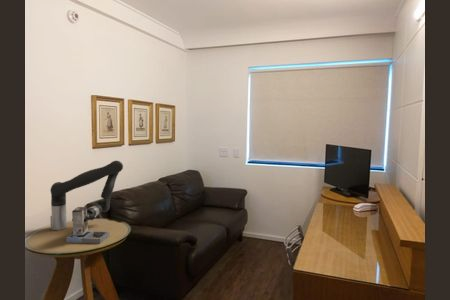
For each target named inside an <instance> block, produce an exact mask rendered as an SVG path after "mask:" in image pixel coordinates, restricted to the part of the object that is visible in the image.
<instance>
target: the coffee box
mask: <svg viewBox="0 0 450 300" xmlns="http://www.w3.org/2000/svg"><path fill="white" fill-rule="evenodd" d="M87 209H88V207H87V206H77V207H75V208H74V209H73V210H72V211H71V214H72V219H73V222H72V232H73V233H72V234H73V235H84V234H85V233H86V232H87V231H89V222H88V221H86V222H84V218H86V217H87Z"/></svg>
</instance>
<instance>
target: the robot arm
mask: <svg viewBox="0 0 450 300" xmlns="http://www.w3.org/2000/svg"><path fill="white" fill-rule="evenodd" d="M123 169H124V165H123V163H122V161H119V160H113V161H111V162H110V163H108V164H106V165H104V166H102V167H98V168H97V167H96V168H94V169H90V170H87V171H84V172H82V173H80V174H78V175H76V176H75V177H73V178H71V179H69V180H67V181H62V182H61V181H56V182H54V183H53V184H52V185H51V186H50V194H51V195H50V197H51V200H50V201H51V202H50V203H51V215H50V217H49V218H50V230H53V231H60V230H65V229H66V228H67V227H68V226H67V225H68V223H67V193H69V192H71V191H73V190H76V189H79V188H82V187H84V186H87V185H90V184H93V183H95V182H96V181H99V180H102V179H103V178H106V177H107V179H106V181H105V183H104V186H103V189H102V192H101V195H100V197H101V199H104V201H102V200H97V201H96V202H95V203H94V205H93V206H90V207H87V217H86V218H84V222H86V221H93V220H95V219H97V216H98V215H100V214H102V212H103V213H107V212H108V211H109V210H110V208H111V197H112V195H113V191H114V188H115V185H116V180H117V177H118V175H119V173H120V172H121V171H122V170H123ZM71 222H72V223H73V218H72V219H71Z"/></svg>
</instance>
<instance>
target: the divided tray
mask: <svg viewBox="0 0 450 300" xmlns="http://www.w3.org/2000/svg"><path fill="white" fill-rule="evenodd" d="M81 236H82V237H81ZM98 237H99V238H98ZM109 237H110V231H101V230H99V231H94V230H88V231H87V232H86V233H85V234H84V235H73V233H72V234H70V235H68V236H67V237H66V243H76V244H102V243H103V242H104V241H105V240H107V239H108V238H109Z"/></svg>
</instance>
